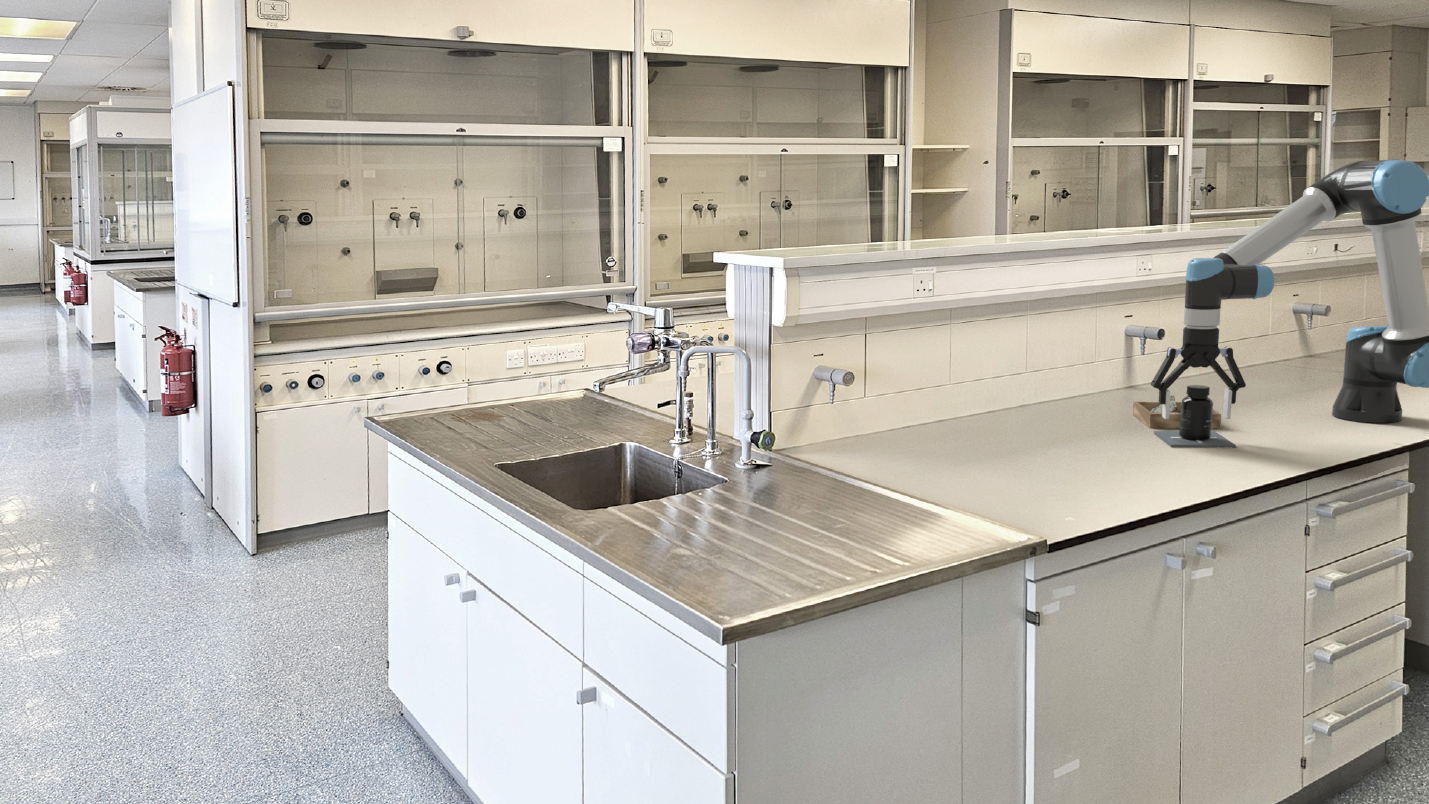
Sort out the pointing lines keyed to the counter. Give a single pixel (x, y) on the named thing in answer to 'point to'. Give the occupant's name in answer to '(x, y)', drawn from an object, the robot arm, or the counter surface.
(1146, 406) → the tray
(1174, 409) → the rock sample
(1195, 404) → the supplement bottle
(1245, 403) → the counter surface
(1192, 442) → the rest mat
